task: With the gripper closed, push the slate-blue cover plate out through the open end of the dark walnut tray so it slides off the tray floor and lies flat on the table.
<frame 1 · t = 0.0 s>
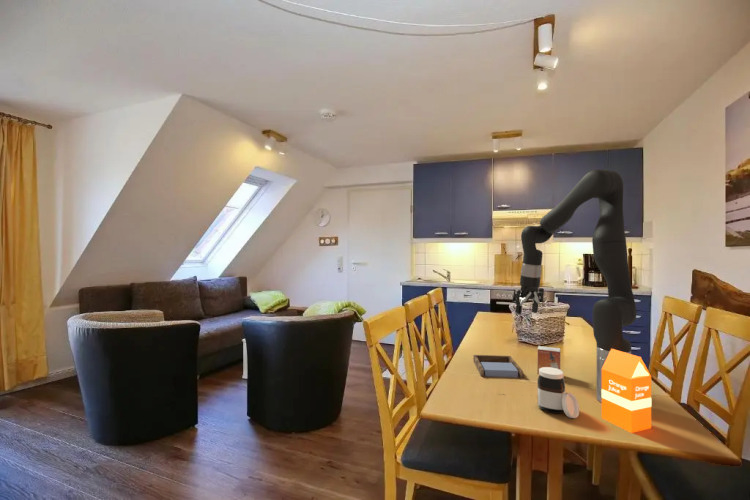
hand: (526, 312, 146), 22 cm above the table, tool pointing down, fingers open, 8 cm apart
orange juice: (625, 423, 100), on the table
walnut tray: (496, 370, 142), on the table
spread jar: (557, 411, 108), on the table
small box: (548, 376, 137), on the table
cover plate: (498, 372, 138), point 1 cm above the table, touching walnut tray
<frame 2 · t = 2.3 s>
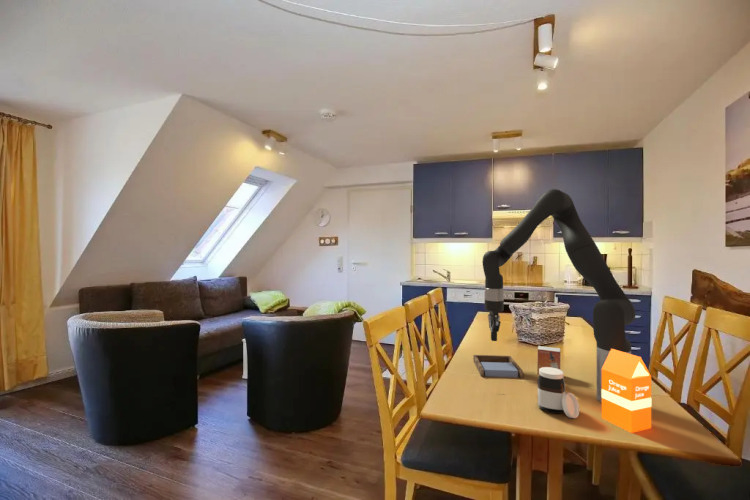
hand: (493, 340, 146), 11 cm above the table, tool pointing down, fingers closed
nothing on the table moved.
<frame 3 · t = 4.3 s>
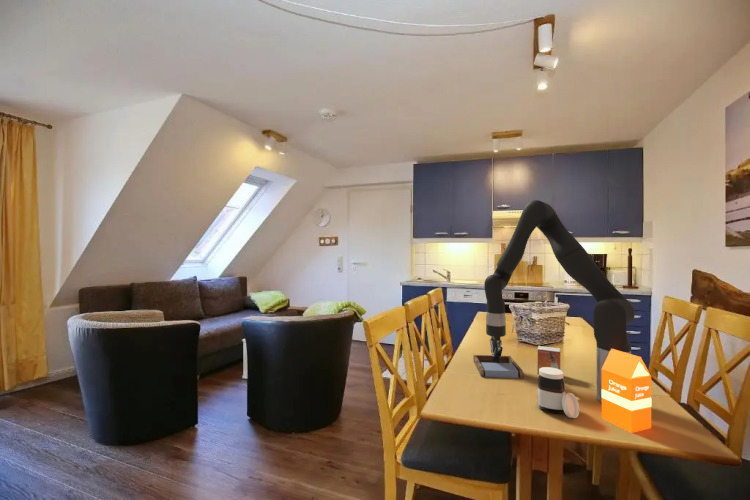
hand: (495, 365, 143), 2 cm above the table, tool pointing down, fingers closed
cover plate: (498, 373, 137), point 1 cm above the table
everything else where it was.
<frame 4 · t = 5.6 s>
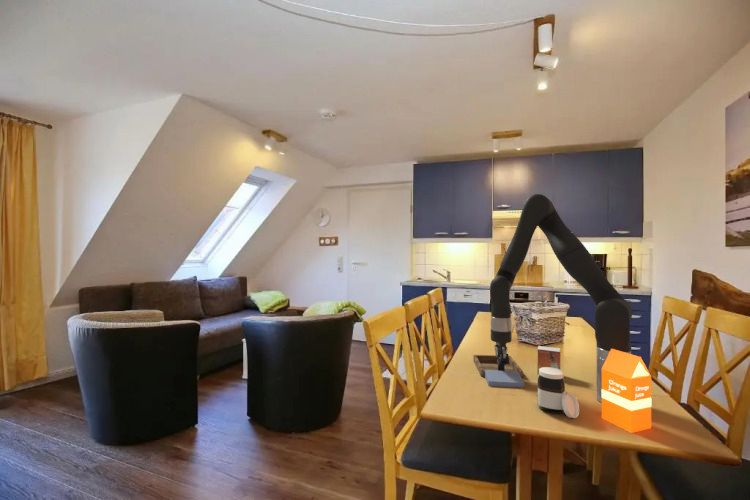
hand: (501, 373, 135), 2 cm above the table, tool pointing down, fingers closed
cover plate: (503, 382, 129), on the table, tilted 5°, touching gripper
everything else where it was.
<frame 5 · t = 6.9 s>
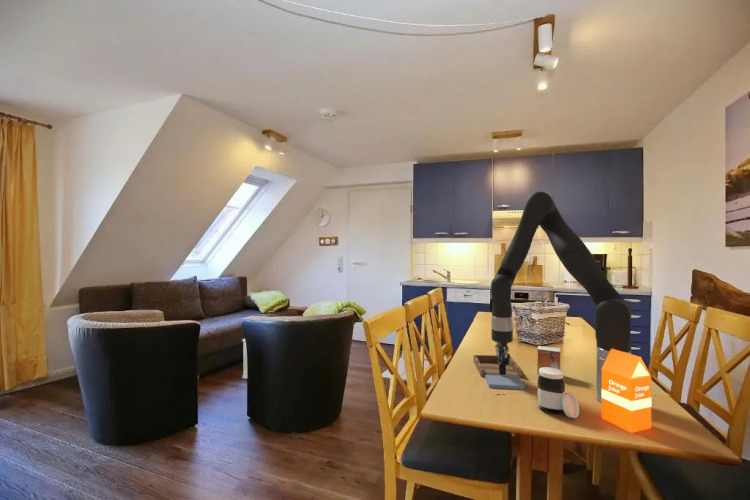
hand: (502, 374, 132), 2 cm above the table, tool pointing down, fingers closed
cover plate: (504, 387, 127), on the table
everything else where it was.
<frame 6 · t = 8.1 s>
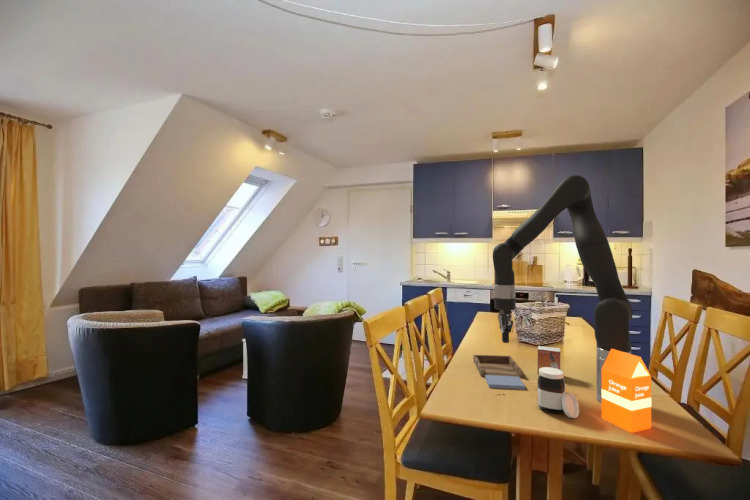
hand: (505, 342, 133), 14 cm above the table, tool pointing down, fingers closed
nothing on the table moved.
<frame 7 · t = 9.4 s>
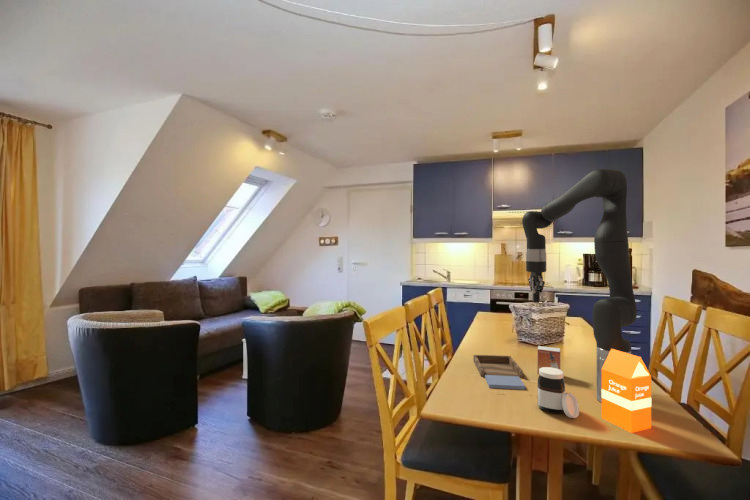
hand: (536, 302, 144), 27 cm above the table, tool pointing down, fingers closed
nothing on the table moved.
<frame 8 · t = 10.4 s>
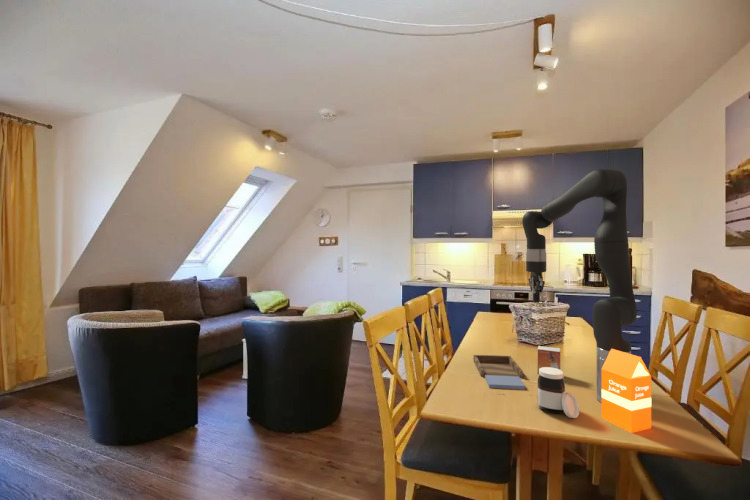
hand: (536, 302, 144), 27 cm above the table, tool pointing down, fingers closed
nothing on the table moved.
at the end: cover plate inside the target area (5.2 cm from its centre), on the table; cover plate touching table; cover plate tilted 0° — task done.
